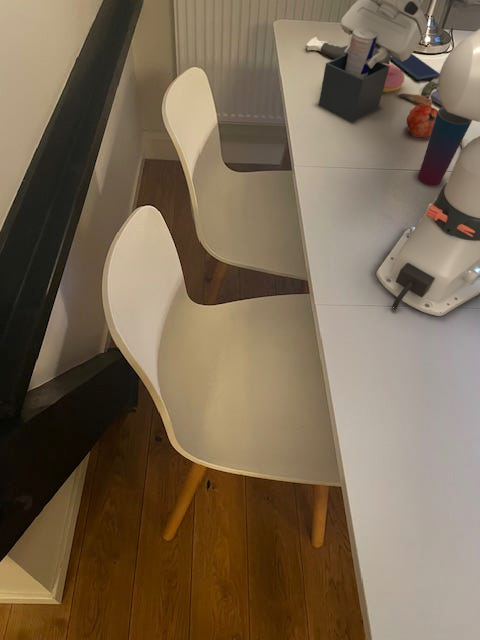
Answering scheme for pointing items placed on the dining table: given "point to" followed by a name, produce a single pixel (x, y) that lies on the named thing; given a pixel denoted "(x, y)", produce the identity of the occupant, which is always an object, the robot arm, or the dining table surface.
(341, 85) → the trash bin
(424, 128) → the orange-red stemmed round figurine
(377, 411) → the dining table surface
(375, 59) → the robot arm
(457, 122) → the cup
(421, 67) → the smartphone
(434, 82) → the knife
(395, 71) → the doughnut
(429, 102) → the stone
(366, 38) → the beverage can
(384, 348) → the dining table surface
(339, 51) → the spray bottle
